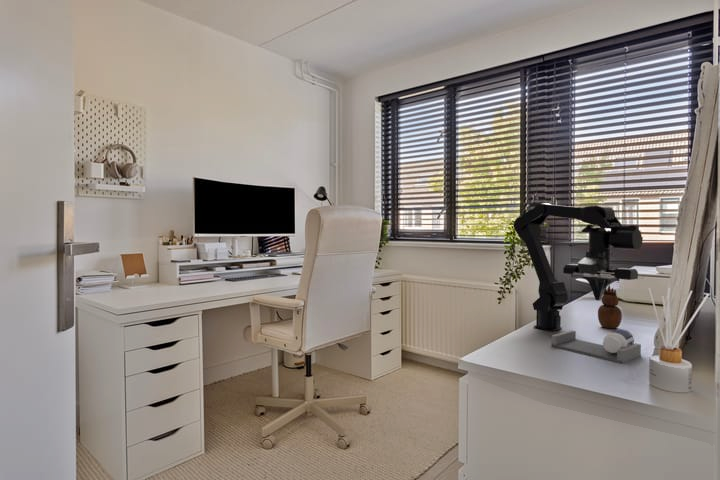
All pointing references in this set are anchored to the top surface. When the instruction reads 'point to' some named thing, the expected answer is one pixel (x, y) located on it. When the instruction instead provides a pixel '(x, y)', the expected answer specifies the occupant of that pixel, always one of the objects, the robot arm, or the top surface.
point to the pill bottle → (618, 340)
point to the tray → (594, 348)
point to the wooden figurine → (609, 310)
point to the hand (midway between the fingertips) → (597, 300)
